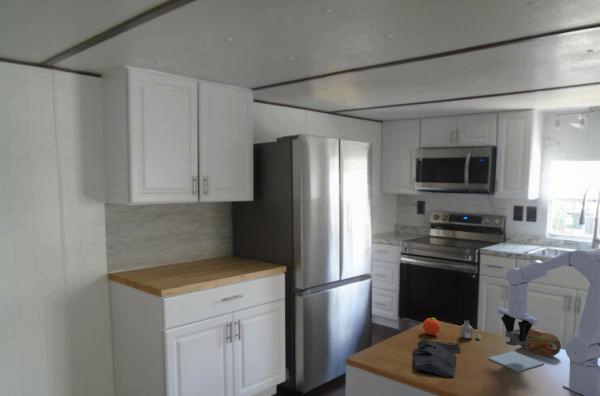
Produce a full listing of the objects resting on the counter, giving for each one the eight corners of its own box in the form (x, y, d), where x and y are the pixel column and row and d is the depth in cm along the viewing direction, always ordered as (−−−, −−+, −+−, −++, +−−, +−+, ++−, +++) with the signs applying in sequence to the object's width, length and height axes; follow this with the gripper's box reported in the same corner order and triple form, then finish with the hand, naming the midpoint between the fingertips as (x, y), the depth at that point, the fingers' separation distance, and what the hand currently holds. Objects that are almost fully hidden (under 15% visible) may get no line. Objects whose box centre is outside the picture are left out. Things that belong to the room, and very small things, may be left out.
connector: (529, 343, 153) (530, 332, 153) (508, 346, 150) (508, 335, 150) (520, 339, 157) (521, 328, 157) (499, 342, 154) (500, 331, 154)
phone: (419, 339, 172) (458, 344, 168) (419, 342, 172) (458, 346, 168) (419, 346, 165) (460, 351, 161) (419, 349, 165) (460, 354, 161)
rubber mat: (543, 364, 152) (543, 363, 152) (518, 372, 146) (518, 370, 145) (513, 352, 163) (513, 351, 163) (488, 358, 156) (488, 357, 156)
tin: (516, 347, 168) (517, 325, 168) (520, 345, 170) (521, 324, 170) (557, 360, 156) (558, 337, 156) (561, 358, 158) (562, 335, 158)
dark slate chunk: (407, 372, 145) (407, 359, 144) (414, 349, 165) (415, 337, 165) (455, 381, 139) (456, 366, 139) (457, 356, 160) (457, 343, 159)
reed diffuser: (456, 339, 175) (457, 291, 175) (452, 333, 182) (454, 287, 182) (482, 341, 174) (484, 292, 173) (478, 335, 181) (479, 288, 180)
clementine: (428, 330, 186) (429, 313, 186) (443, 334, 181) (444, 317, 181) (419, 334, 180) (420, 317, 180) (435, 338, 176) (435, 321, 175)
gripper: (544, 305, 149) (542, 343, 149) (507, 295, 162) (505, 330, 162) (531, 307, 145) (529, 347, 146) (494, 297, 158) (493, 333, 159)
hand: (516, 338), depth 154 cm, fingers closed on connector, 4 cm apart
